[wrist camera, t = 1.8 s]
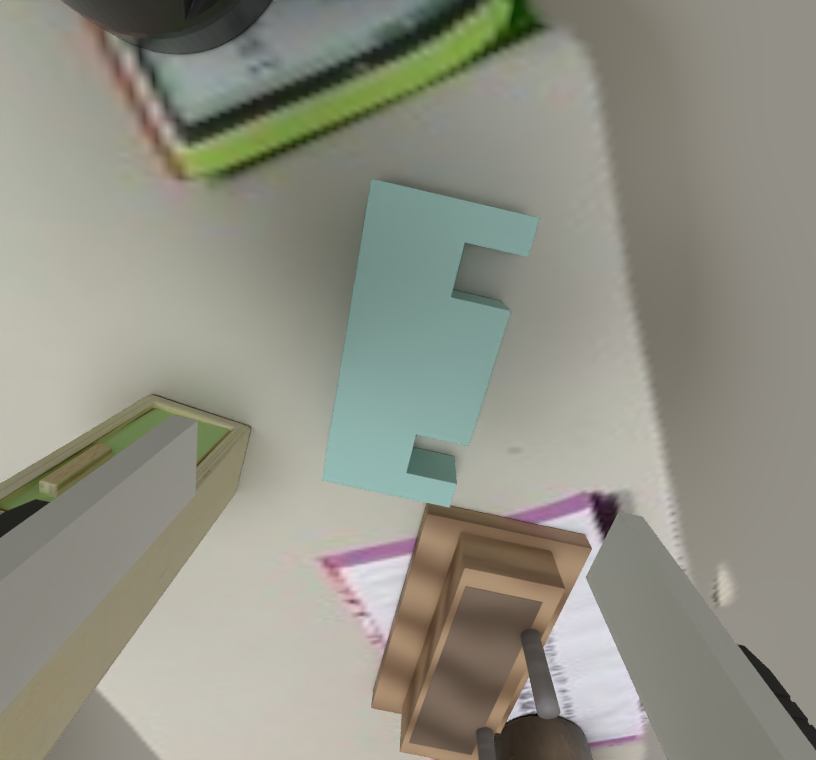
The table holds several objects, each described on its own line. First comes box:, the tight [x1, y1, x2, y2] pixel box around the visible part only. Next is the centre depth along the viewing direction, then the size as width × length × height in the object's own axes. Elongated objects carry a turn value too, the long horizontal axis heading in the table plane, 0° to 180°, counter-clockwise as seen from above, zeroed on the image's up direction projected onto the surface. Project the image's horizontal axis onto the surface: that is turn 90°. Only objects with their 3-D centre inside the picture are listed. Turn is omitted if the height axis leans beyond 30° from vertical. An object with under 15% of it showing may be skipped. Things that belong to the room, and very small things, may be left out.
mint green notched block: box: [322, 179, 540, 508], centre depth 26 cm, size 19×9×4 cm, turn 168°
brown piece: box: [371, 503, 592, 760], centre depth 31 cm, size 24×13×10 cm, turn 168°
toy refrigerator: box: [0, 395, 251, 760], centre depth 21 cm, size 8×7×21 cm
